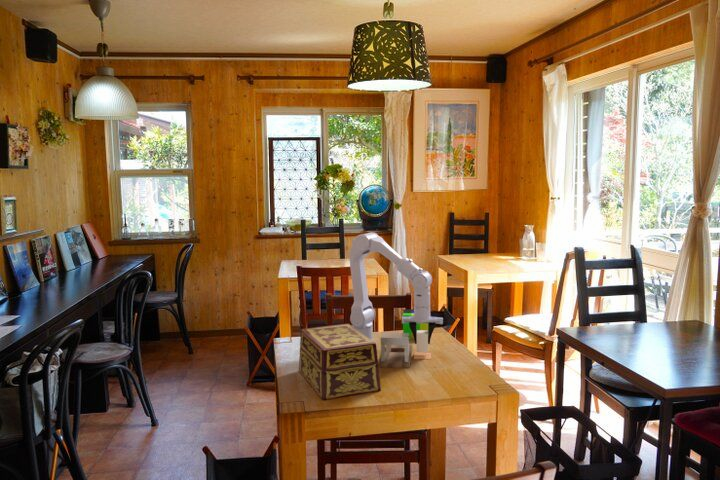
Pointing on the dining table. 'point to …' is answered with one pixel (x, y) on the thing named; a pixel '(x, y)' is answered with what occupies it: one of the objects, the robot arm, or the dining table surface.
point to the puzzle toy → (406, 325)
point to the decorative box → (338, 361)
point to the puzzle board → (396, 356)
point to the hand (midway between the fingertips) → (422, 342)
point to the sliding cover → (394, 343)
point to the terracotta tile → (422, 355)
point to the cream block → (422, 341)
